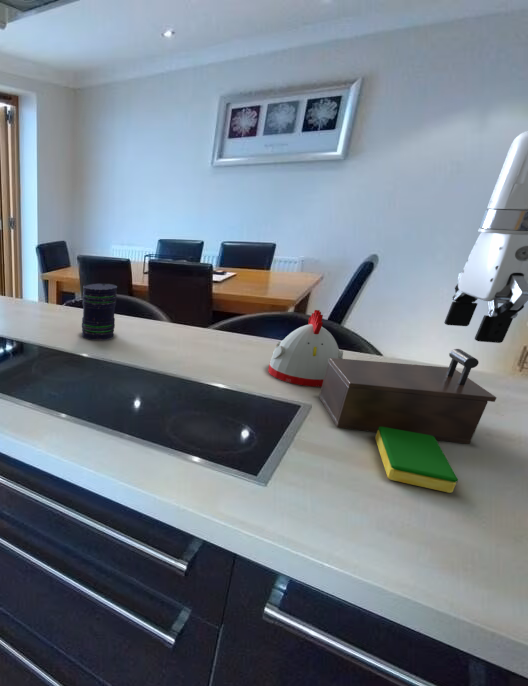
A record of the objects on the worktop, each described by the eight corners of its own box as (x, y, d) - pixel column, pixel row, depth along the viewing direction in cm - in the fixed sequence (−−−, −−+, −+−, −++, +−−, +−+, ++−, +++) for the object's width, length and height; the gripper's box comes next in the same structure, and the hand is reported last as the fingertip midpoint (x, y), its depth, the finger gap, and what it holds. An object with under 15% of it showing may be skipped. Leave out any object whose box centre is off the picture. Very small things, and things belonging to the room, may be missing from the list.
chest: (431, 409, 84) (446, 371, 81) (469, 444, 72) (488, 401, 69) (318, 397, 90) (328, 361, 87) (336, 427, 79) (348, 387, 76)
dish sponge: (387, 480, 64) (392, 465, 63) (374, 437, 75) (378, 425, 74) (452, 494, 61) (459, 479, 60) (429, 448, 72) (434, 435, 71)
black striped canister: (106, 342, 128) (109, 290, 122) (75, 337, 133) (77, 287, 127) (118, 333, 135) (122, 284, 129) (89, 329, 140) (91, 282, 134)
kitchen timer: (272, 382, 98) (286, 316, 92) (264, 361, 110) (277, 302, 104) (346, 390, 93) (366, 321, 87) (330, 367, 105) (347, 305, 99)
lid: (452, 371, 81) (463, 342, 79) (495, 402, 69) (509, 368, 67) (328, 361, 87) (335, 334, 85) (348, 387, 76) (357, 356, 73)
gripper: (596, 226, 57) (535, 351, 64) (513, 219, 72) (471, 321, 78) (520, 226, 59) (469, 346, 66) (455, 219, 74) (419, 318, 81)
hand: (470, 332), depth 72 cm, fingers open, 9 cm apart
